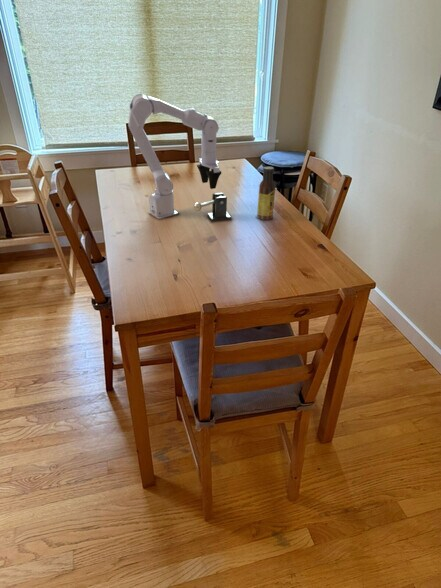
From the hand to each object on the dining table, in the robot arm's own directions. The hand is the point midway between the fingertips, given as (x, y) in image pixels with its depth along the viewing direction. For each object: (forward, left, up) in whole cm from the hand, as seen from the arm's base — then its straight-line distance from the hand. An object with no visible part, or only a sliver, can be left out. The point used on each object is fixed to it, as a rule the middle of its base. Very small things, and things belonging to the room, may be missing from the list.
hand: (208, 185), depth 164 cm
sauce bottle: (+13, -20, -10) cm, 26 cm away
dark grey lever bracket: (-2, -10, -10) cm, 14 cm away
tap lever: (-6, -8, -5) cm, 11 cm away
